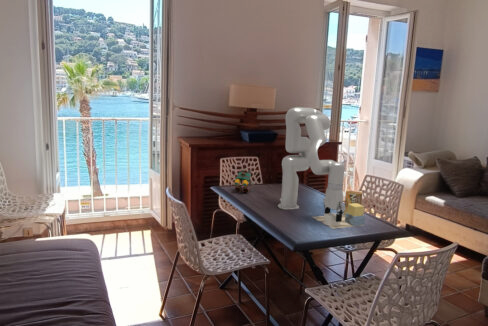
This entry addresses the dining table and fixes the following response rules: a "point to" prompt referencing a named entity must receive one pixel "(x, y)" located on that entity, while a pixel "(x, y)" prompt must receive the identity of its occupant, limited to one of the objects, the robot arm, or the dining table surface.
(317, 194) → the dining table surface
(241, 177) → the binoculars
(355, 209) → the mustard block
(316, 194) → the dining table surface
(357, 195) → the candy box
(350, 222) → the build board
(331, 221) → the cream block
